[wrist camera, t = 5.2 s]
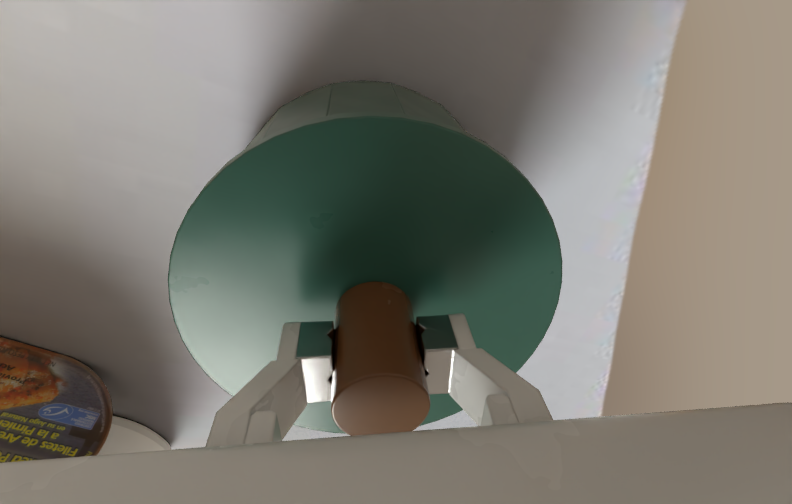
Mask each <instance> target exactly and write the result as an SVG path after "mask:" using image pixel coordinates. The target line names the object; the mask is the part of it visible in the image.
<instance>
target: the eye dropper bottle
mask: <svg viewBox="0 0 792 504" xmlns="http://www.w3.org/2000/svg"><path fill="white" fill-rule="evenodd" d="M162 450H171V448H170V445H169V444H168V442H167V441H165V440H164V439H163V438H162V437H161V436H160V435H158V434H157V433H155V432H154V431H152V430H151V429H149V428H147V427H145V426H143V425H141V424H139V423H136V422H134V421H131V420H128V419H124V418H121V417H117V416H112V424H111V428H110V431H109V434H108V437H107V439H106V441H105V443H104V445H103V447H102V448H101V450H100V452H99V453H98V454H97V455H109V454H122V453H135V452H148V451H162Z"/></svg>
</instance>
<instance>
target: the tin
mask: <svg viewBox="0 0 792 504" xmlns="http://www.w3.org/2000/svg"><path fill="white" fill-rule="evenodd" d="M112 416H113V409H112V401H111V397H110V394H109V392H108V390H107V387H106V386H105V384H104V383H103V381H102V380H101V378H100V377H99V376H98V375H97V374H96V373H95V372H94V371H92V370H91V369H90V368H89V367H87V366H86V365H84V364H83V363H81V362H79V361H77V360H75V359H73V358H71V357H68V356H65V355H62V354H59V353H55V352H51V351H48V350H44V349H41V348H38V347H34V346H31V345H27V344H24V343H20V342H17V341H13V340H10V339H6V338H3V337H0V463H4V462H17V461H30V460H43V459H56V458H69V457H83V456H96V455H97V454H98V453H99V452H100V450H101V448H102V447H103V445H104V443H105V441H106V439H107V437H108V434H109V431H110V428H111V424H112Z"/></svg>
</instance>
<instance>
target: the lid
mask: <svg viewBox="0 0 792 504" xmlns="http://www.w3.org/2000/svg"><path fill="white" fill-rule="evenodd" d="M561 284H562V256H561V249H560V242H559V238H558V235H557V231H556V228H555V225H554V222H553V219H552V217H551V215H550V213H549V211H548V209H547V207H546V205H545V203H544V201H543V200H542V198H541V197H540V195H539V194H538V193H537V191H536V190H535V189H534V187H533V186H532V185H531V183H530V182H529V181H528V179H527V178H526V177H525V176H524V175H523V174H522V173H521V172H520V171H519V170H518V169H517V168H516V167H515V166H514V165H513V164H512V163H511V162H510V161H509V160H508V159H507V158H506V157H505V156H503V155H502V154H500V153H499V152H498V151H496V150H495V149H493V148H492V147H491V146H489V145H488V144H486V143H485V142H484V141H482V140H480V139H478V138H476V137H474V136H472V135H470V134H468V133H466V132H464V131H462V130H460V129H458V128H456V127H453V126H450V125H447V124H444V123H441V122H438V121H435V120H432V119H429V118H424V117H418V116H413V115H408V114H403V113H392V112H374V111H365V112H353V113H340V114H334V115H329V116H324V117H320V118H315V119H311V120H306V121H303V122H301V123H298V124H295V125H292V126H290V127H287V128H284V129H281V130H279V131H276V132H275V133H273V134H271V135H269V136H267V137H265V138H263V139H261V140H260V141H258V142H256V143H254V144H252V145H250V146H249V147H248V148H246V149H245V150H244V151H242V152H241V153H240V154H238V155H237V156H235V157H234V158H233V159H231V160H230V161H229V162H227V163H226V164H225V165H224V166H223V167H222V168H221V169H220V170H219V171H218V172H217V173H216V174H215V176H214V177H213V178H212V179H211V180H210V181H209V182H208V183H207V184H206V186H205V187H204V188H203V190H202V191H201V192H200V194H199V195H198V197H197V198H196V199H195V201H194V202H193V204H192V205H191V206H190V208H189V209H188V211H187V213H186V215H185V217H184V219H183V221H182V223H181V225H180V227H179V229H178V231H177V234H176V238H175V241H174V244H173V248H172V251H171V255H170V263H169V273H168V287H169V301H170V305H171V309H172V313H173V317H174V321H175V324H176V326H177V329H178V331H179V333H180V336H181V338H182V340H183V342H184V344H185V346H186V347H187V349H188V350H189V352H190V354H191V355H192V357H193V358H194V360H195V361H196V362H197V363H198V365H199V366H200V367H201V368H202V369H203V371H204V372H205V373H206V374H207V375H208V376H209V377H210V378H211V379H212V380H213V381H214V382H215V383H216V384H217V385H219V386H220V387H221V388H222V389H223V390H225V391H226V392H227V393H229V394H230V395H231V396H235V395H236V394H237V393H238V392H239V391H240V390H241V389H242V388H243V387H244V386H245V385H246V384H247V383H248V382H249V381H251V380H252V379H253V378H254V377H255V376H256V375H257V374H258V373H259V372H260V371H261V370H262V369H263V368H264V367H265V366H267V365H268V364H269V363H270V362H271V361H276V359H277V354H278V349H279V344H280V339H281V334H282V329H283V325H284V324H285V323H292V322H315V321H333V322H334V329H335V331H334V347H333V354H334V357H333V374H332V392H331V401H326V402H315V403H307V406H306V407H305V409H304V410H303V411H302V413H301V414H300V416H299V417H298V418H297V420H296V421H295V423H294V424H293V425H295V426H299V427H303V428H308V429H312V430H318V431H325V432H332V433H347V434H348V435H351V436H357V435H370V434H383V433H396V432H408V431H413V430H414V429H416V428H417V427H418V426H421V425H424V424H428V423H431V422H435V421H438V420H440V419H443V418H445V417H448V416H450V415H453V414H455V413H457V412H459V411H461V410H463V409H462V408H461V407H460V406H459V404H458V403H457V402H456V401H455V400H454V399H453V398H452V397H451V396H450V395H449V394H450V393H448V394H429V390H428V385H427V380H426V375H425V370H424V366H423V361H422V356H421V350H420V345H419V340H418V335H417V330H416V317H417V316H433V315H447V314H458V313H463V314H464V315H465V317H466V320H467V323H468V326H469V328H470V331H471V334H472V337H473V339H474V342H475V345H476V348H482V349H483V350H485V351H486V352H487V353H489V354H490V355H491V356H493V357H494V358H495V359H497V360H498V361H500V362H501V363H502V364H504V365H505V366H506V367H508V368H509V369H511V370H512V371H513V372H515V373H516V372H517V371H518V370H519V369H520V368H521V367H522V366H523V365H524V364H525V362H526V361H527V360H528V359H529V358H530V357H531V355H532V354H533V353H534V351H535V350H536V348H537V347H538V345H539V344H540V342H541V341H542V339H543V338H544V336H545V334H546V332H547V330H548V328H549V326H550V324H551V322H552V319H553V316H554V313H555V310H556V307H557V304H558V300H559V295H560V289H561Z"/></svg>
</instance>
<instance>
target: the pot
mask: <svg viewBox="0 0 792 504" xmlns="http://www.w3.org/2000/svg"><path fill="white" fill-rule="evenodd" d="M365 111H374V112H392V113H403V114H408V115H413V116H418V117H424V118H429V119H432V120H435V121H438V122H441V123H444V124H447V125H450V126H453V127H456V128H458V129H460V130H462V131H464V132H466V131H465V130H464V129H463V128H462V127H461V126H460V125H459V123H458V122H457V121H456V120H455V119H454V118H453V117H452V116H451V115H450V114H449V112H448V111H447V110H446V109H445V108H444V107H443V106H441V104H439V103H437V102H434V101H432V100H430V99H429V98H427V97H425V96H423V95H421V94H419V93H417V92H415V91H412V90H409V89H407V88H404V87H401V86H398V85H395V84H393V83H391V84H390V83H384V82H376V81H350V82H341V83H333V84H330V85H327V86H324V87H321V88H318V89H316V90H313V91H310V92H308V93H306V94H304V95H302V96H300V97H298V98H297V99H295V100H293V101H291V102H290V103H288V104H286V105H283V106H282V108H279V110H278V111H277V112H276V113H275V114H274V116H273V117H272V118H271V119H270V120H269V121H268V122H267V123H266V124H265V125H264V127H263V128H262V129H261V131H260V132H259V133H258V134H257V135H256V137H255V138H254V139H253V140H252V141H251V142H250V144H249V145H248V146H247V148H248V147H249V146H250V145H252V144H254V143H256V142H258V141H260V140H261V139H263V138H265V137H267V136H269V135H271V134H273V133H275V132H276V131H279V130H281V129H284V128H287V127H290V126H292V125H295V124H298V123H301V122H303V121H306V120H311V119H315V118H320V117H324V116H329V115H334V114H340V113H353V112H365ZM466 133H467V132H466Z"/></svg>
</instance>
